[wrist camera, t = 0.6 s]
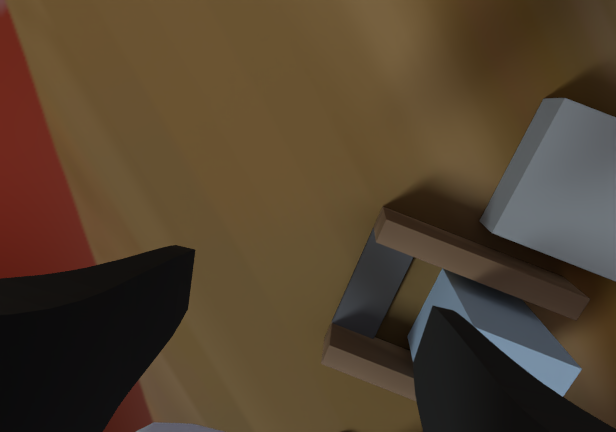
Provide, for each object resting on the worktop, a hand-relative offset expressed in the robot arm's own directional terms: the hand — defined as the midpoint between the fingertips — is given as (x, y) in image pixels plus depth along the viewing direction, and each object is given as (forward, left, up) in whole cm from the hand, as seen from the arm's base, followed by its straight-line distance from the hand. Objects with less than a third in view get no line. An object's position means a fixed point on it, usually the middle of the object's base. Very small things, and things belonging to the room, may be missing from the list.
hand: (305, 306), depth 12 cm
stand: (+6, -10, -10) cm, 16 cm away
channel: (-3, -7, -10) cm, 13 cm away
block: (-3, -9, -10) cm, 14 cm away
